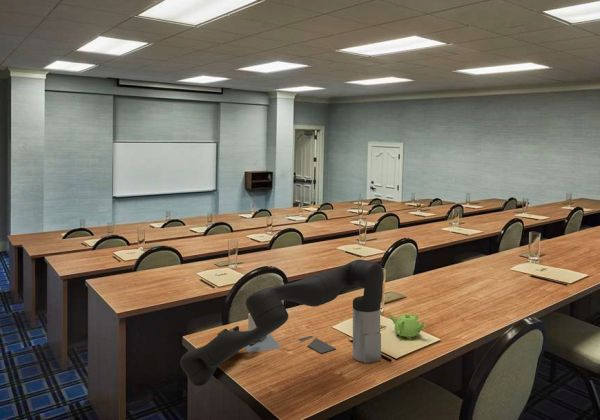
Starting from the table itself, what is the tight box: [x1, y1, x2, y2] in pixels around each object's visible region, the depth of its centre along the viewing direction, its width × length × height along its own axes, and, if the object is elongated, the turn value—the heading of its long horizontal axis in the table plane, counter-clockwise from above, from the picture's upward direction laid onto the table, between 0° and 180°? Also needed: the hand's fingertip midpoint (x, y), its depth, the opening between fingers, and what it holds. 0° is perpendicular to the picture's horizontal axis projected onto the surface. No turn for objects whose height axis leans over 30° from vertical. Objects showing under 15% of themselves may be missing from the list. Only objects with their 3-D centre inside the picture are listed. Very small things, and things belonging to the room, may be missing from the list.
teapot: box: [389, 313, 427, 340], centre depth 179 cm, size 11×12×8 cm
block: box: [247, 312, 267, 342], centre depth 177 cm, size 5×5×10 cm
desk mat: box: [242, 329, 282, 354], centre depth 177 cm, size 22×12×1 cm, turn 20°
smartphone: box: [297, 335, 337, 355], centre depth 172 cm, size 7×1×15 cm
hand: (248, 329), depth 172 cm, fingers open, 8 cm apart
